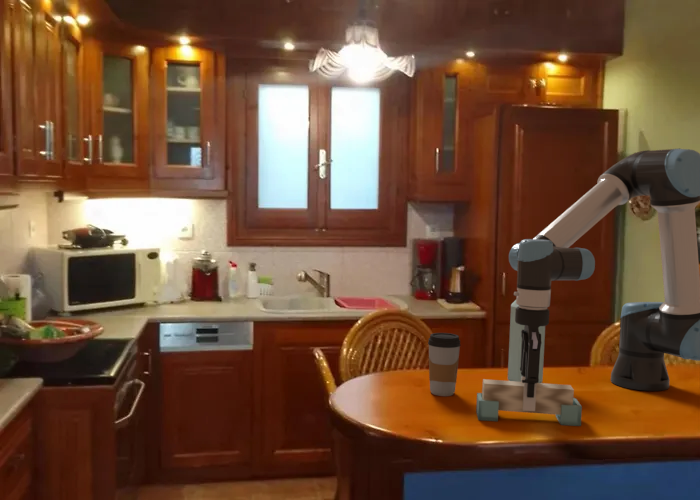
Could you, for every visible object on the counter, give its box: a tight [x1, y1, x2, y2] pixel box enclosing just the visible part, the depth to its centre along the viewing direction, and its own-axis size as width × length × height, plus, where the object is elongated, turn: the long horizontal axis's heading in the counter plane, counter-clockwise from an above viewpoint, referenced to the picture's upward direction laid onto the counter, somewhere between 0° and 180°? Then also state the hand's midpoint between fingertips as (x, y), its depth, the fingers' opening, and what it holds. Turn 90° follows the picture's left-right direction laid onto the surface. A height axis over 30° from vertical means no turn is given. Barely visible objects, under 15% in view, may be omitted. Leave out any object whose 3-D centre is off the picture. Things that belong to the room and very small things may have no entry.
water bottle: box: [507, 299, 546, 383], centre depth 198 cm, size 10×10×25 cm
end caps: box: [475, 392, 583, 427], centre depth 167 cm, size 23×7×4 cm, turn 84°
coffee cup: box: [427, 332, 461, 397], centre depth 186 cm, size 8×8×15 cm
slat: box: [481, 378, 575, 416], centre depth 167 cm, size 20×4×6 cm, turn 84°
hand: (527, 407), depth 167 cm, fingers closed on slat, 4 cm apart
